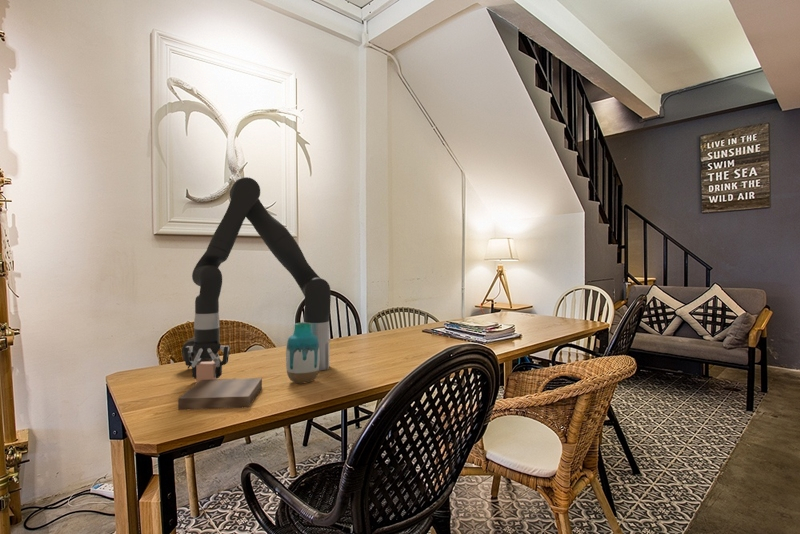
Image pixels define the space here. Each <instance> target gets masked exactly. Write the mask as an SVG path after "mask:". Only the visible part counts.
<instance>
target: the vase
mask: <svg viewBox="0 0 800 534" xmlns="http://www.w3.org/2000/svg"><path fill="white" fill-rule="evenodd" d="M293 327H294V329H293V333H292V335H290V336H289V337H288V338H287V341H286V347H285V348H286V349H285V351H286V352H285V362H286V373H287V377H288V379H289V380H290V381H291V382H293V383H295V384H296V383H297V384H306V383H307V384H308V383H311V382H312V381H314V380H315V379H316V378H317V376H318V374H319V372H320V371H319V361H320V350H319V340H318V338H317V336H316V335H314V334H313V333H312V325H311V323H307V322H304V321H303V322H302V321H301V322H296V323H294V326H293Z"/></svg>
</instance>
